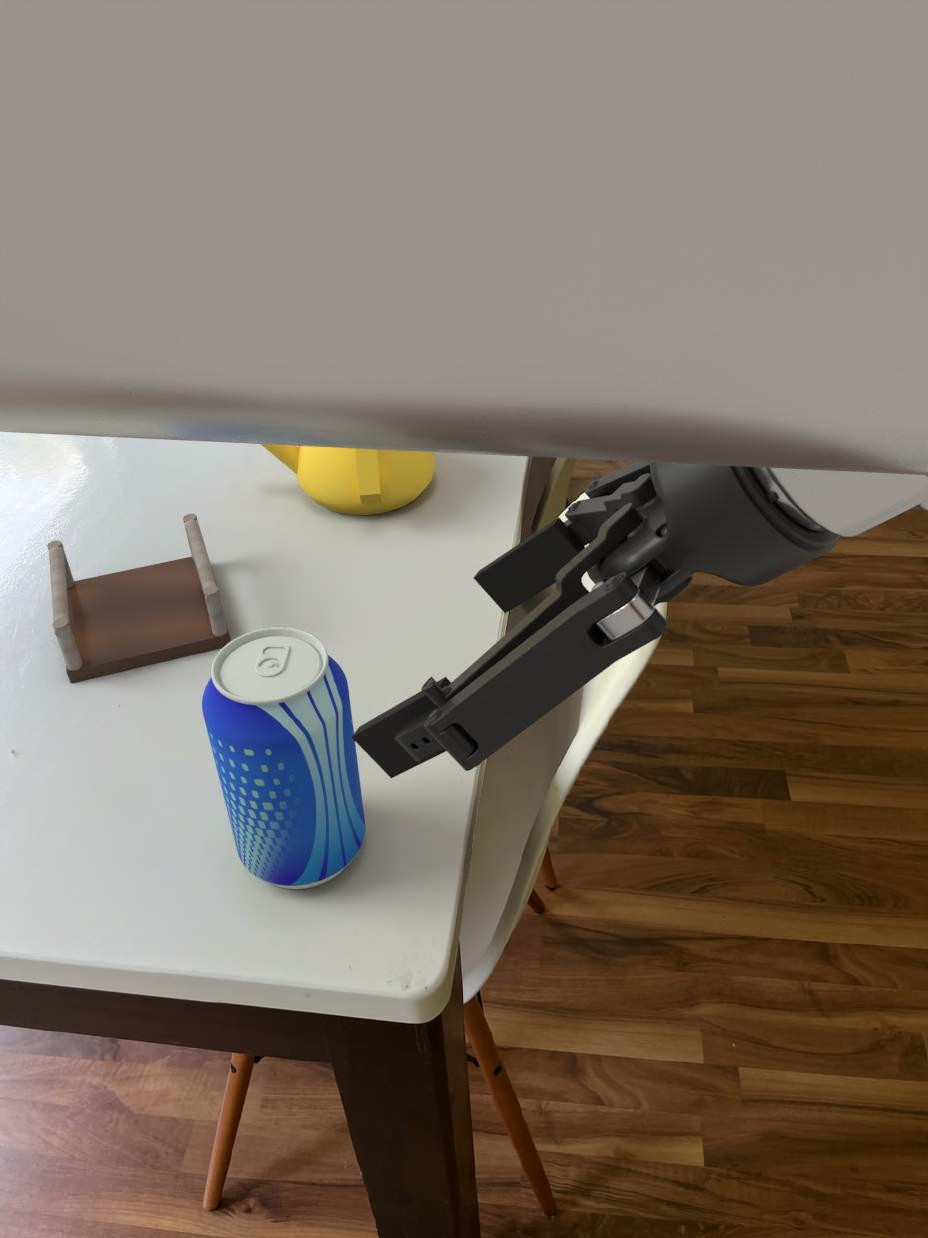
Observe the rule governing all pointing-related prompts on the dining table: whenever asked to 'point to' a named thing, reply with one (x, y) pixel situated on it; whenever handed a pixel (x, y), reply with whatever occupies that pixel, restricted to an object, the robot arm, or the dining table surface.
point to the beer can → (285, 756)
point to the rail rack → (136, 612)
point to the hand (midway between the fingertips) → (438, 665)
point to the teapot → (358, 476)
